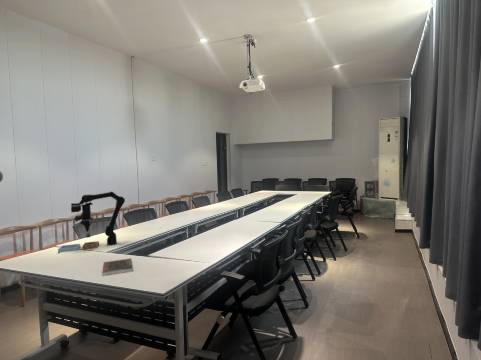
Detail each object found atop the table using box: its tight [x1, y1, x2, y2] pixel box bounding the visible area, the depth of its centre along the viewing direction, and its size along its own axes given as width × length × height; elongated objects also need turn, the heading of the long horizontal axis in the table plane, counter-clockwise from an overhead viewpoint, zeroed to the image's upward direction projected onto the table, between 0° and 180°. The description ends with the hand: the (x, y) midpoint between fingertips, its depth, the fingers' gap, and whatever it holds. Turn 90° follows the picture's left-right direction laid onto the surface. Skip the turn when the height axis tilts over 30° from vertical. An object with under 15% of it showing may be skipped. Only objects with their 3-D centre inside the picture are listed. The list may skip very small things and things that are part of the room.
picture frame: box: [101, 258, 134, 277], centre depth 192 cm, size 16×2×22 cm
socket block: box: [82, 240, 100, 251], centre depth 243 cm, size 10×10×4 cm
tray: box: [57, 243, 82, 254], centre depth 239 cm, size 13×11×3 cm
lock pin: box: [84, 226, 91, 238], centre depth 242 cm, size 4×4×10 cm
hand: (87, 231), depth 242 cm, fingers closed on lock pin, 3 cm apart
